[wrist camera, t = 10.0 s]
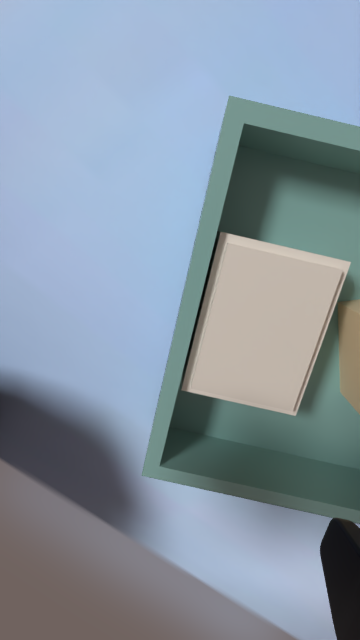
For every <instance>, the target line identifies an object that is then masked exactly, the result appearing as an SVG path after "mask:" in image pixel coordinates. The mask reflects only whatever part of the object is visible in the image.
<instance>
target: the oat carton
mask: <svg viewBox="0 0 360 640" xmlns="http://www.w3.org/2000/svg"><path fill="white" fill-rule="evenodd" d="M338 334H339V370H340V392H341V394H342V395H343V396H344V397H345V398H346V399H347V401H348V402H349V403H350V404H351V405H352V406H353V408H354V409H355V410H356V411H357V412H358V413H359V415H360V299H357V300H350V301H342V302H338Z"/></svg>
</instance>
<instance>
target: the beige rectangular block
mask: <svg viewBox="0 0 360 640" xmlns="http://www.w3.org/2000/svg"><path fill="white" fill-rule="evenodd" d="M350 264H351V262H348V261H344V260H340V259H336V258H332V257H328V256H323V255H319V254H315V253H311V252H306V251H302V250H298V249H293V248H289V247H285V246H280V245H276V244H272V243H268V242H263V241H259V240H255V239H250V238H246V237H242V236H238V235H233V234H229V233H225V232H220V231H217V234H216V238H215V242H214V247H213V251H212V255H211V259H210V263H209V267H208V271H207V275H206V279H205V283H204V287H203V291H202V295H201V299H200V303H199V307H198V312H197V316H196V320H195V324H194V328H193V332H192V336H191V340H190V344H189V348H188V352H187V356H186V360H185V364H184V368H183V377H182V388H181V390H183V391H187V392H192V393H196V394H200V395H205V396H209V397H214V398H218V399H223V400H227V401H232V402H236V403H240V404H245V405H249V406H254V407H258V408H263V409H267V410H271V411H276V412H280V413H285V414H289V415H294V416H296V414H297V411H298V408H299V405H300V402H301V400H302V397H303V394H304V391H305V389H306V386H307V383H308V380H309V377H310V375H311V372H312V369H313V366H314V364H315V361H316V358H317V355H318V352H319V350H320V347H321V344H322V341H323V339H324V336H325V333H326V330H327V328H328V325H329V322H330V319H331V316H332V314H333V311H334V308H335V305H336V303H337V300H338V297H339V294H340V291H341V289H342V286H343V283H344V280H345V278H346V275H347V272H348V269H349V266H350Z"/></svg>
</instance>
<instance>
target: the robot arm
mask: <svg viewBox="0 0 360 640" xmlns="http://www.w3.org/2000/svg"><path fill="white" fill-rule="evenodd" d="M320 555H321V561H322V566H323V571H324V577H325V582H326V587H327V592H328V598H329V603H330V608H331V614H332V619H333V624H334V628H335V633H336V637H337V640H360V528H359V527H358V526H357V525H356V524H354V523H353V522H352V521H350V520H346V519H341V518H333V519H332V520H331V521H330V523H329V526H328V528H327V530H326V532H325V535H324V537H323V539H322V542H321V546H320Z"/></svg>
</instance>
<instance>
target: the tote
mask: <svg viewBox="0 0 360 640" xmlns="http://www.w3.org/2000/svg"><path fill="white" fill-rule="evenodd" d="M217 231H220V232H225V233H229V234H233V235H238V236H242V237H246V238H250V239H255V240H259V241H263V242H268V243H272V244H276V245H280V246H285V247H289V248H293V249H298V250H302V251H306V252H311V253H315V254H319V255H323V256H328V257H332V258H336V259H340V260H344V261H348V262H351V264H350V266H349V269H348V272H347V275H346V278H345V280H344V283H343V286H342V289H341V291H340V294H339V297H338V300H337V303H336V305H335V308H334V311H333V314H332V316H331V319H330V322H329V325H328V328H327V330H326V333H325V336H324V339H323V341H322V344H321V347H320V350H319V352H318V355H317V358H316V361H315V364H314V366H313V369H312V372H311V375H310V377H309V380H308V383H307V386H306V389H305V391H304V394H303V397H302V400H301V402H300V405H299V408H298V411H297V414H296V416H294V415H289V414H285V413H280V412H276V411H271V410H267V409H263V408H258V407H254V406H249V405H245V404H240V403H236V402H232V401H227V400H223V399H218V398H214V397H209V396H205V395H200V394H196V393H192V392H187V391H183V390H181V388H182V377H183V368H184V364H185V360H186V356H187V352H188V348H189V344H190V340H191V336H192V332H193V328H194V324H195V320H196V316H197V312H198V307H199V303H200V299H201V295H202V291H203V287H204V283H205V279H206V275H207V271H208V267H209V263H210V259H211V255H212V251H213V247H214V242H215V238H216V234H217ZM357 299H360V127H358V126H354V125H350V124H346V123H341V122H337V121H333V120H329V119H325V118H321V117H316V116H312V115H308V114H304V113H300V112H295V111H291V110H287V109H283V108H279V107H275V106H270V105H266V104H262V103H258V102H254V101H250V100H245V99H241V98H237V97H233V96H229V99H228V103H227V106H226V110H225V114H224V118H223V122H222V126H221V130H220V135H219V139H218V143H217V148H216V152H215V156H214V161H213V165H212V169H211V174H210V178H209V182H208V187H207V191H206V195H205V200H204V204H203V208H202V213H201V217H200V221H199V226H198V230H197V234H196V239H195V243H194V247H193V252H192V256H191V261H190V265H189V269H188V274H187V278H186V282H185V287H184V291H183V295H182V300H181V304H180V308H179V313H178V317H177V321H176V326H175V330H174V334H173V339H172V343H171V347H170V352H169V356H168V360H167V365H166V369H165V373H164V378H163V382H162V386H161V391H160V395H159V399H158V404H157V408H156V413H155V417H154V421H153V426H152V430H151V435H150V439H149V444H148V448H147V453H146V458H145V462H144V467H143V471H142V476H146V477H150V478H155V479H159V480H164V481H168V482H173V483H177V484H182V485H186V486H191V487H195V488H200V489H204V490H209V491H214V492H218V493H223V494H227V495H232V496H236V497H241V498H245V499H250V500H254V501H259V502H263V503H268V504H272V505H277V506H282V507H286V508H291V509H295V510H300V511H304V512H309V513H313V514H318V515H322V516H327V517H331V518H341V519H346V520H350V521H352V522H354V523H359V524H360V415H359V413H358V412H357V411H356V410H355V409H354V408H353V406H352V405H351V404H350V403H349V402H348V401H347V399H346V398H345V397H344V396H343V395H342V394H341V392H340V370H339V334H338V302H342V301H350V300H357Z"/></svg>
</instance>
